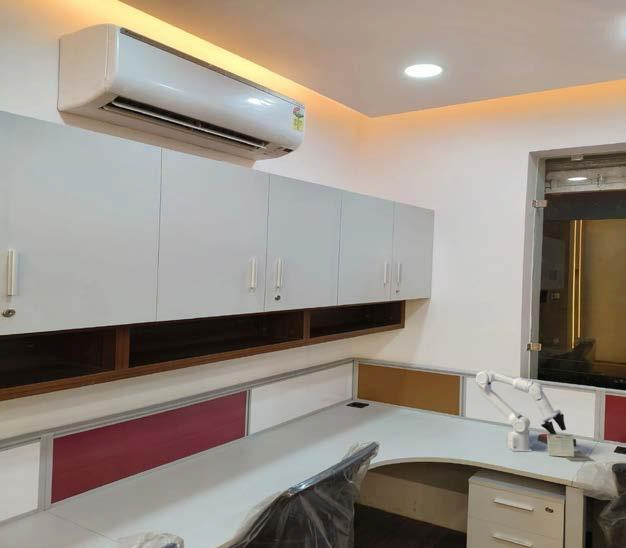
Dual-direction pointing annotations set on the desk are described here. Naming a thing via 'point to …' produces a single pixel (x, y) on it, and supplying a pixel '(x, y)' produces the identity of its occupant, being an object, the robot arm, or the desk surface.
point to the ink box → (560, 445)
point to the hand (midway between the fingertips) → (559, 433)
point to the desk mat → (579, 457)
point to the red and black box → (544, 438)
